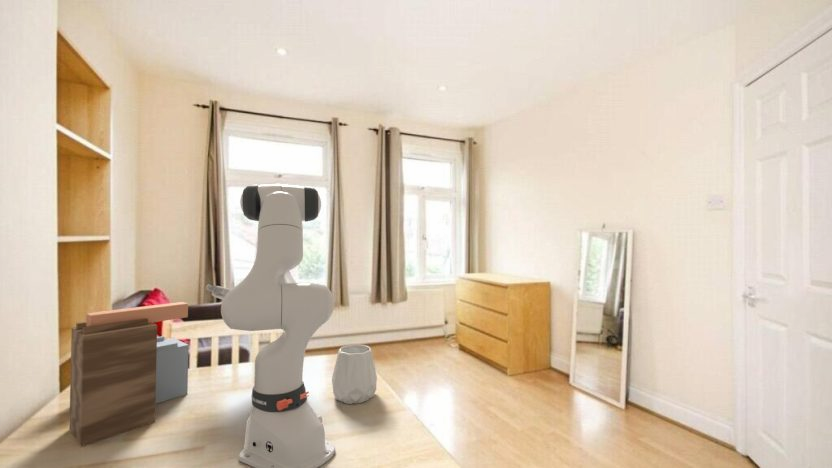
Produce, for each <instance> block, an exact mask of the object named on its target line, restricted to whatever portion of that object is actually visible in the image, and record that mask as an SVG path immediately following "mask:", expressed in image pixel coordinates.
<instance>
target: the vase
mask: <svg viewBox="0 0 832 468" xmlns="http://www.w3.org/2000/svg"><path fill="white" fill-rule="evenodd" d="M374 360H375V359H374V356H373V350H372V348H371V347H370V346H369V345H365V344H356V343H355V344H348V345H344V346H341V347H340V348H338V351H337V356H336V360H335V364H334V369H333V373H332V378H331V384H332V391H333V392H332V393H333V395H334V397H335V399H336V400H337V401H338V402H342V403H344V404H347V405H353V404H352V403H356V404H363V403H364V401H365V402H367V401H368V400H370V399H371V398H373V397H374V395H375V393H376V392H377V380H378V379H377V378H378V377H377V370H376V364H375V361H374ZM369 398H370V399H369ZM366 400H367V401H366ZM362 402H363V403H362Z"/></svg>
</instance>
